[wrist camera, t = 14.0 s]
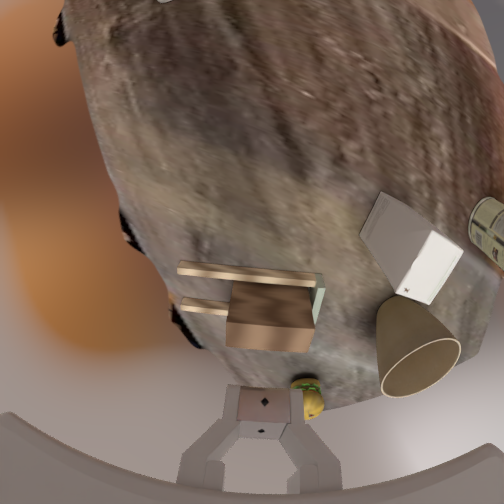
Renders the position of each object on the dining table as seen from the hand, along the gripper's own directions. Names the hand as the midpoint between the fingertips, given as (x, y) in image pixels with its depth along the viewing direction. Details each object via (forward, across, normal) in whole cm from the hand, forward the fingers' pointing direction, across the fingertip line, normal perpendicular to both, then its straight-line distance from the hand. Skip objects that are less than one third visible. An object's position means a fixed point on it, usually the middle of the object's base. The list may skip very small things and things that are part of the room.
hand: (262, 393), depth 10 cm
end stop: (+31, -10, +18) cm, 37 cm away
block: (+31, -2, +18) cm, 36 cm away
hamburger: (+31, -14, +43) cm, 55 cm away
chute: (+31, +2, +18) cm, 36 cm away
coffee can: (+31, -42, -1) cm, 53 cm away
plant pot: (+31, -27, +20) cm, 46 cm away
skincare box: (+31, -19, +3) cm, 37 cm away
